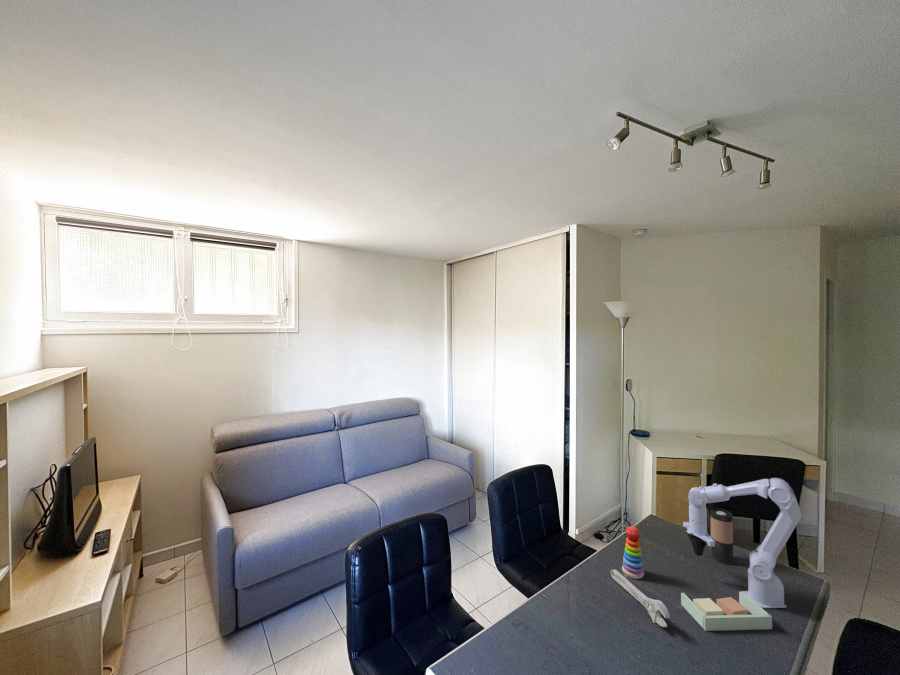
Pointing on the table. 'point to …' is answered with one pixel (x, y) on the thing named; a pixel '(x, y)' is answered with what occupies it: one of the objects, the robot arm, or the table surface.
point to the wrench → (644, 599)
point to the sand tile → (708, 607)
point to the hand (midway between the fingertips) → (698, 554)
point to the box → (730, 616)
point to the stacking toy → (633, 554)
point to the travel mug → (722, 535)
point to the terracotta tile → (731, 606)
